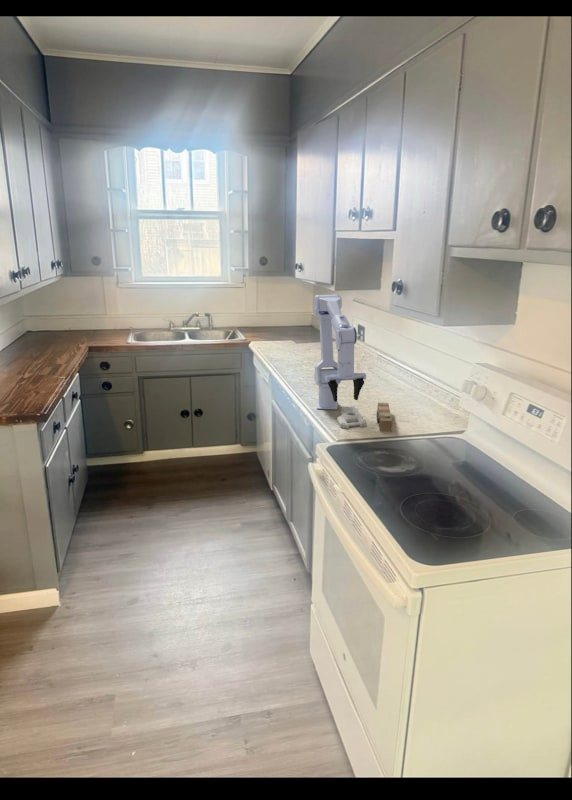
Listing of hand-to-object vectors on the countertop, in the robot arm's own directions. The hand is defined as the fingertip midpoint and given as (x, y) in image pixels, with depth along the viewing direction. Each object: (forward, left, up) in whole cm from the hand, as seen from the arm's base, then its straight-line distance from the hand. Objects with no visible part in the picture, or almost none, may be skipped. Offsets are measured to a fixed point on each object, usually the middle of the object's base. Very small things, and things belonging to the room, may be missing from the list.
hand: (345, 400), depth 185 cm
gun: (-7, +2, -11) cm, 13 cm away
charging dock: (-7, +14, -10) cm, 19 cm away
